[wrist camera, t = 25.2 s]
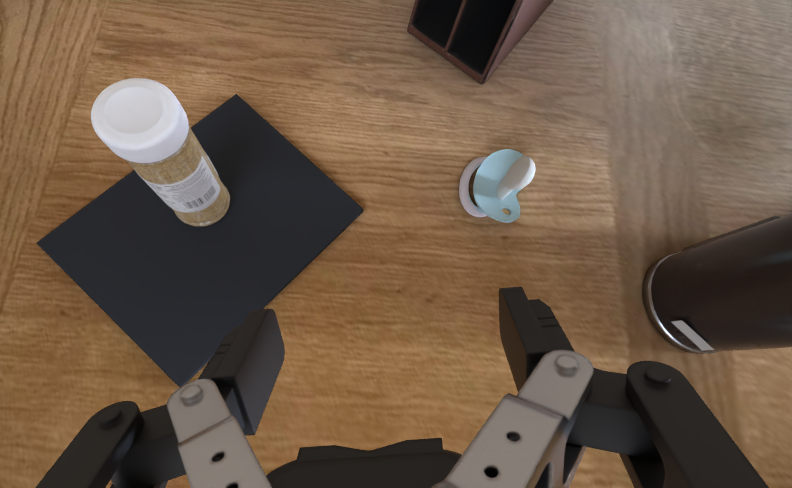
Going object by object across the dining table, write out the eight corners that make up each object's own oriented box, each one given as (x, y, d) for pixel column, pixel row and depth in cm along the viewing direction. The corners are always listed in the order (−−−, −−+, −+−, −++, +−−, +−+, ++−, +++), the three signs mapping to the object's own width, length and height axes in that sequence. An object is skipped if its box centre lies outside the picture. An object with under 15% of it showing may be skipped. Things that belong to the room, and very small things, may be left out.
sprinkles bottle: (221, 171, 37) (165, 65, 25) (238, 218, 36) (189, 133, 24) (166, 188, 36) (78, 86, 23) (182, 236, 35) (99, 158, 22)
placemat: (237, 97, 40) (236, 93, 40) (363, 211, 39) (363, 209, 38) (40, 244, 34) (36, 242, 33) (182, 387, 33) (179, 387, 32)
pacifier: (449, 215, 40) (510, 235, 40) (468, 186, 34) (539, 209, 34) (467, 149, 42) (525, 168, 43) (487, 112, 37) (554, 134, 37)
